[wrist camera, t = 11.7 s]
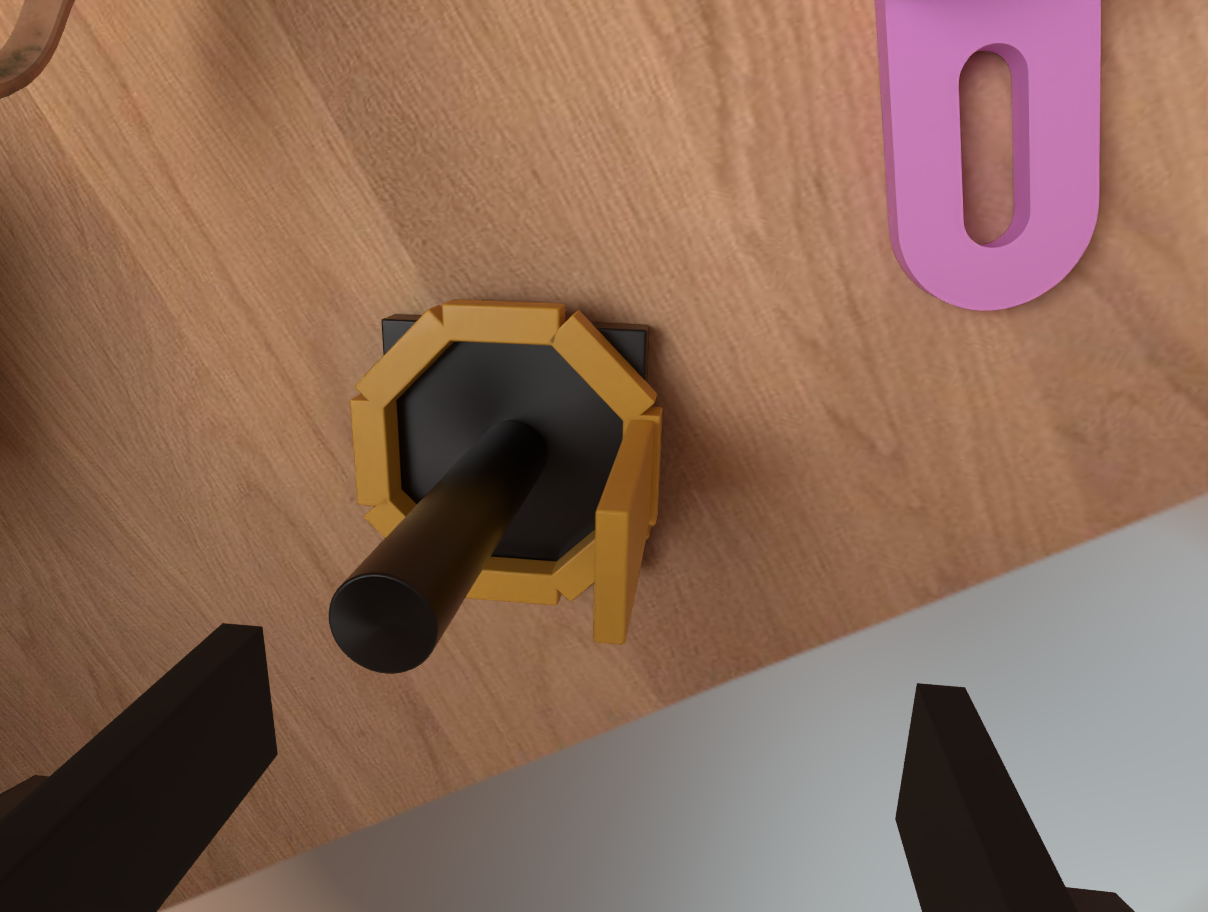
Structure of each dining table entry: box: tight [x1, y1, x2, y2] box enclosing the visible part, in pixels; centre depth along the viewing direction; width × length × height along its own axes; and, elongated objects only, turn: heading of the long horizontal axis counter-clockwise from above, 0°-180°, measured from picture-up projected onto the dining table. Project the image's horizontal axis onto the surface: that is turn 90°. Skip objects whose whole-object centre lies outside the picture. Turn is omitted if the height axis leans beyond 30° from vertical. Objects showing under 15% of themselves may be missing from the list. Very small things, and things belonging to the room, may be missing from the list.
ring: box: [350, 299, 663, 645], centre depth 24 cm, size 10×10×9 cm
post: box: [329, 314, 649, 674], centre depth 24 cm, size 9×9×13 cm
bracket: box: [875, 0, 1101, 311], centre depth 21 cm, size 13×6×7 cm, turn 9°
